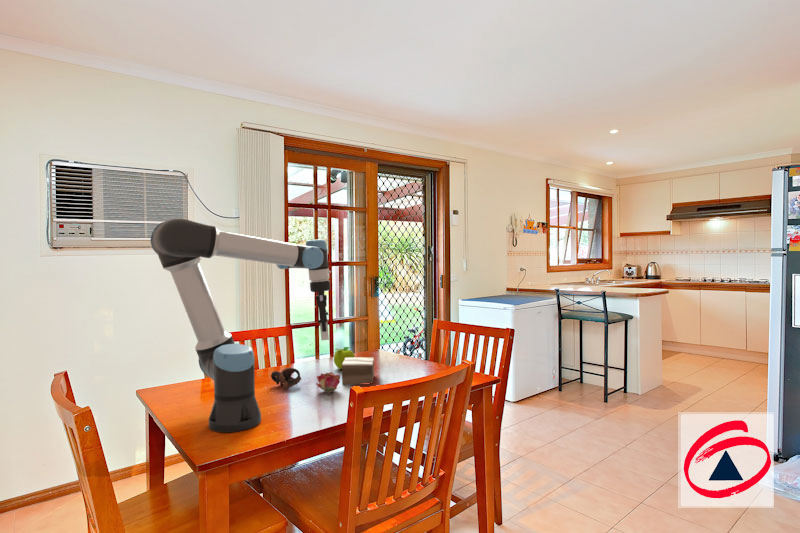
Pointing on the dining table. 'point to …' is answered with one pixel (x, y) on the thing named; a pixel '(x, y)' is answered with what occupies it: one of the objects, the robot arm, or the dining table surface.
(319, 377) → the flower
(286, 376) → the pottery mug
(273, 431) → the dining table surface
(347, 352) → the fruit
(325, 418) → the dining table surface
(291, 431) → the dining table surface
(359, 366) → the pedestal
